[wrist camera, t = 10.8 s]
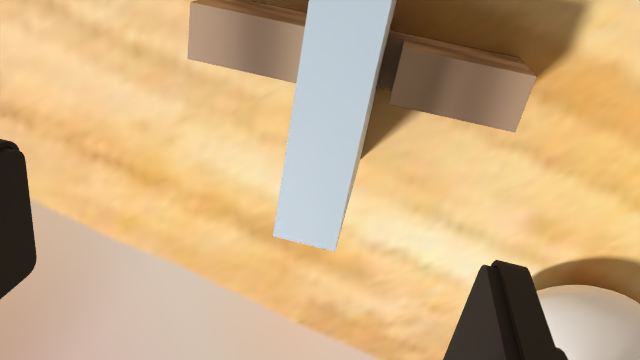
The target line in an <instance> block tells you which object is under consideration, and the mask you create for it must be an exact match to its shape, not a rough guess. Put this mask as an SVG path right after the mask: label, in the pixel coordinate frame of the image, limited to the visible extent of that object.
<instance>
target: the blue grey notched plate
mask: <svg viewBox="0 0 640 360" xmlns="http://www.w3.org/2000/svg"><path fill="white" fill-rule="evenodd" d="M396 2H397V0H309V4H308V10H307V17H306V24H305V30H304V37H303V43H302V50H301V56H300V63H299V69H298V76H297V82H296V89H295V96H294V102H293V109H292V115H291V122H290V128H289V135H288V141H287V148H286V154H285V161H284V168H283V174H282V181H281V187H280V194H279V200H278V207H277V213H276V220H275V226H274V233H273V236H275V237H279V238H283V239H287V240H291V241H295V242H299V243H302V244H306V245H310V246H314V247H318V248H322V249H326V250H330V251H334V252H335V249H336V246H337V242H338V238H339V235H340V231H341V228H342V224H343V220H344V217H345V213H346V209H347V206H348V202H349V198H350V195H351V191H352V188H353V184H354V180H355V177H356V173H357V169H358V166H359V162H360V158H361V154H362V150H363V145H364V141H365V137H366V132H367V128H368V124H369V119H370V115H371V111H372V106H373V102H374V98H375V93H376V92H375V91H376V86H377V82H378V78H379V73H380V69H381V65H382V60H383V56H384V52H385V47H386V43H387V39H388V34H389V30H390V26H391V21H392V19H393V15H394V11H395V7H396Z"/></svg>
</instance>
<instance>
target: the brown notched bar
mask: <svg viewBox="0 0 640 360" xmlns="http://www.w3.org/2000/svg"><path fill="white" fill-rule="evenodd" d="M306 17H307V13H306V12H301V11H297V10H292V9H287V8H282V7H278V6H273V5H268V4H264V3H259V2H254V1H249V0H197V1H193V2H190V21H189V41H188V59H191V60H195V61H200V62H204V63H209V64H213V65H218V66H222V67H226V68H231V69H235V70H240V71H244V72H249V73H253V74H258V75H262V76H266V77H271V78H275V79H280V80H284V81H289V82H293V83H296V82H297V76H298V69H299V63H300V56H301V50H302V43H303V37H304V30H305V24H306ZM536 77H537V76H536V75H535V74H534V73H533V72H532V71H531V70H530V68H529V67H528V66H527V65H526V64H525V63H524V62H523V61H522V60H521V59H520V58H518V57H513V56H509V55H504V54H499V53H494V52H490V51H485V50H480V49H476V48H471V47H466V46H461V45H457V44H452V43H447V42H443V41H438V40H433V39H428V38H424V37H419V36H414V35H410V34H405V33H400V32H396V31H391V30H389V34H388V39H387V43H386V47H385V52H384V56H383V60H382V65H381V69H380V73H379V78H378V82H377V86H376V87H377V88H381V89H386V90H390V91H391V95H390V101H389V104H391V105H395V106H400V107H404V108H409V109H413V110H417V111H422V112H426V113H431V114H435V115H440V116H444V117H449V118H453V119H457V120H462V121H466V122H471V123H475V124H480V125H484V126H489V127H493V128H497V129H502V130H506V131H511V132H516V129H517V127H518V124H519V121H520V119H521V116H522V114H523V111H524V108H525V106H526V103H527V101H528V98H529V95H530V93H531V90H532V88H533V85H534V82H535V80H536Z"/></svg>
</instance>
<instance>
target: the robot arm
mask: <svg viewBox="0 0 640 360" xmlns="http://www.w3.org/2000/svg"><path fill="white" fill-rule="evenodd" d="M35 264H36V248H35V240H34V231H33V222H32V214H31V205H30V197H29V188H28V179H27V171H26V162H25V157H24V155H23V153H22V152H20V151H19V148H18V146H17V145H16V144H15V143H13V142H11V141H7V140H2V139H0V299H1V298H2V297H4V296H5V295H6V294H7V293H8V292H9V291H10V290H11V289H13V288H14V287H15V286H16V285H18V284H19V283H20V282H21V281H22V280H23V279H24V278H26V277H27V276H28V275H29V274H30V273H31V272H32V270H33V268H34V266H35ZM443 360H568V358H567V356H566V354H565V352H564V351H562V350H561V349H560V348H557V347H556V346H555V344H554V341H553V338H552V335H551V332H550V329H549V326H548V324H547V321H546V318H545V315H544V312H543V309H542V306H541V303H540V301H539V298H538V295H537V292H536V289H535V286H534V283H533V280H532V278H531V275H530V272H529V270H528V268H526V267H523V266H519V265H515V264H511V263H507V262H503V261H499V260H495V261H494V262H493V263H492V265H491V266H487V265H482V267H481V268H480V270H479V272H478V275H477V277H476V280H475V282H474V284H473V287H472V289H471V292H470V294H469V297H468V299H467V302H466V304H465V307H464V309H463V312H462V314H461V317H460V319H459V322H458V324H457V327H456V329H455V332H454V334H453V337H452V339H451V342H450V344H449V346H448V349H447V351H446V354H445V356H444V359H443Z"/></svg>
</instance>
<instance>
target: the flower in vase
mask: <svg viewBox="0 0 640 360" xmlns="http://www.w3.org/2000/svg"><path fill="white" fill-rule="evenodd" d="M536 292H537V295H538V298H539V301H540V303H541V306H542V309H543V312H544V315H545V318H546V321H547V324H548V326H549V329H550V332H551V335H552V338H553V341H554V344H555V346H556V347H557V348H560V349H561V350H562V351H564V352H565V354H566V356H567V358H568V360H640V304H639V303H638V302H636V301H635V300H633V299H631V298H629V297H627V296H625V295H623V294H620V293H618V292H615V291H612V290H608V289H604V288H600V287H595V286H588V285H561V286H555V287H549V288H546V289H542V290H539V291H536Z"/></svg>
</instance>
